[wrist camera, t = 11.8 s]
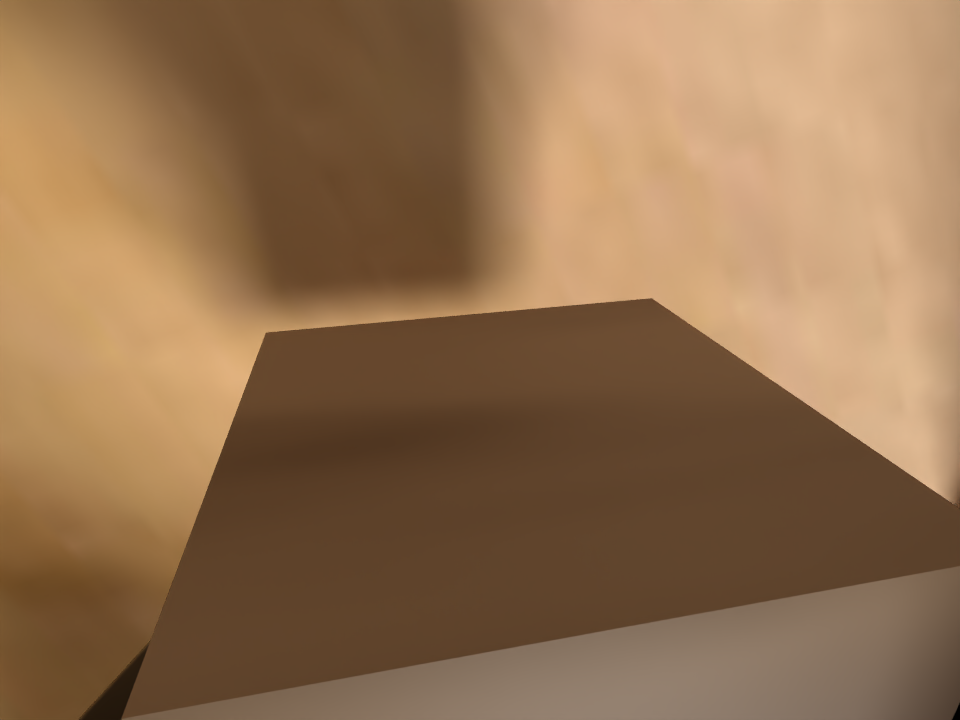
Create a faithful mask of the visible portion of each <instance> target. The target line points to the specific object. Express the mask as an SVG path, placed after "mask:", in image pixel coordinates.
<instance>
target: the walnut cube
mask: <svg viewBox="0 0 960 720" xmlns="http://www.w3.org/2000/svg"><path fill="white" fill-rule="evenodd" d="M959 703H960V509H959V508H958V507H956V506H955V505H953V504H952V503H951V502H949V501H948V500H946V499H945V498H943V497H942V496H940V495H939V494H937V493H936V492H934V491H933V490H931V489H930V488H929V487H927V486H926V485H924V484H923V483H921V482H920V481H918V480H917V479H915V478H914V477H912V476H911V475H910V474H908V473H907V472H905V471H904V470H902V469H901V468H899V467H898V466H896V465H895V464H893V463H892V462H890V461H889V460H888V459H886V458H885V457H883V456H882V455H880V454H879V453H877V452H876V451H874V450H873V449H871V448H870V447H869V446H867V445H866V444H864V443H863V442H861V441H860V440H858V439H857V438H855V437H854V436H852V435H851V434H849V433H848V432H847V431H845V430H844V429H842V428H841V427H839V426H838V425H836V424H835V423H833V422H832V421H830V420H829V419H828V418H826V417H825V416H823V415H822V414H820V413H819V412H817V411H816V410H814V409H813V408H811V407H810V406H808V405H807V404H806V403H804V402H803V401H801V400H800V399H798V398H797V397H795V396H794V395H792V394H791V393H789V392H788V391H787V390H785V389H784V388H782V387H781V386H779V385H778V384H776V383H775V382H773V381H772V380H770V379H769V378H768V377H766V376H765V375H763V374H762V373H760V372H759V371H757V370H756V369H754V368H753V367H751V366H750V365H748V364H747V363H746V362H744V361H743V360H741V359H740V358H738V357H737V356H735V355H734V354H732V353H731V352H729V351H728V350H727V349H725V348H724V347H722V346H721V345H719V344H718V343H716V342H715V341H713V340H712V339H710V338H709V337H707V336H706V335H705V334H703V333H702V332H700V331H699V330H697V329H696V328H694V327H693V326H691V325H690V324H688V323H687V322H686V321H684V320H683V319H681V318H680V317H678V316H677V315H675V314H674V313H672V312H671V311H669V310H668V309H666V308H665V307H664V306H662V305H661V304H659V303H658V302H656V301H655V300H653V299H652V298H651V299H640V300H629V301H617V302H606V303H595V304H584V305H572V306H561V307H550V308H539V309H527V310H516V311H505V312H494V313H482V314H471V315H460V316H449V317H437V318H426V319H415V320H404V321H392V322H381V323H370V324H359V325H347V326H336V327H325V328H314V329H302V330H291V331H280V332H269V333H266V334H265V337H264V339H263V342H262V345H261V347H260V350H259V353H258V355H257V358H256V361H255V363H254V366H253V369H252V371H251V374H250V377H249V379H248V382H247V385H246V387H245V390H244V393H243V395H242V398H241V401H240V403H239V406H238V409H237V411H236V414H235V417H234V419H233V422H232V425H231V427H230V430H229V433H228V435H227V438H226V441H225V443H224V446H223V449H222V452H221V454H220V457H219V460H218V462H217V465H216V468H215V470H214V473H213V476H212V478H211V481H210V484H209V486H208V489H207V492H206V494H205V497H204V500H203V502H202V505H201V508H200V510H199V513H198V516H197V518H196V521H195V524H194V526H193V529H192V532H191V534H190V537H189V540H188V542H187V545H186V548H185V550H184V553H183V556H182V558H181V561H180V564H179V566H178V569H177V572H176V574H175V577H174V580H173V582H172V585H171V588H170V590H169V593H168V596H167V598H166V601H165V604H164V606H163V609H162V612H161V614H160V617H159V620H158V622H157V625H156V628H155V630H154V633H153V636H152V638H151V641H150V644H149V646H148V649H147V652H146V654H145V657H144V660H143V662H142V665H141V668H140V670H139V673H138V676H137V678H136V681H135V684H134V686H133V689H132V692H131V694H130V697H129V700H128V702H127V705H126V708H125V710H124V713H123V716H122V718H121V719H122V720H952V719H953V716H954V714H955V712H956V710H957V707H958V705H959Z"/></svg>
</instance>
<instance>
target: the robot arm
mask: <svg viewBox="0 0 960 720" xmlns="http://www.w3.org/2000/svg"><path fill="white" fill-rule="evenodd" d="M150 641H151V640H150ZM149 644H150V642H149V643H148V644H147V645H146V646H145V647H144V648H143V649H142V650H141V651H140V653H139V654H138V655H137V656H136V657H135V658H134V659H133V660H132V661H131V662H130V664H129V665H128V666H127V667H126V668H125V669H124V670H123V671H122V672H121V673H120V675H119V676H118V677H117V678H116V679H115V680H114V681H113V682H112V683H111V684H110V686H109V687H108V688H107V689H106V690H105V691H104V692H103V693H102V694H101V695H100V697H99V698H98V699H97V700H96V701H95V702H94V703H93V704H92V705H91V706H90V708H89V709H88V710H87V711H86V712H85V713H84V714H83V715H82V716H81V717H80V718H79V720H122V719H121V718H122V716H123V713H124V710H125V708H126V705H127V702H128V700H129V697H130V694H131V692H132V689H133V686H134V684H135V681H136V678H137V676H138V673H139V670H140V668H141V665H142V662H143V660H144V657H145V654H146V652H147V649H148V646H149ZM952 720H960V703H959V705H958V707H957V710H956V712H955V714H954V716H953V719H952Z"/></svg>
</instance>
